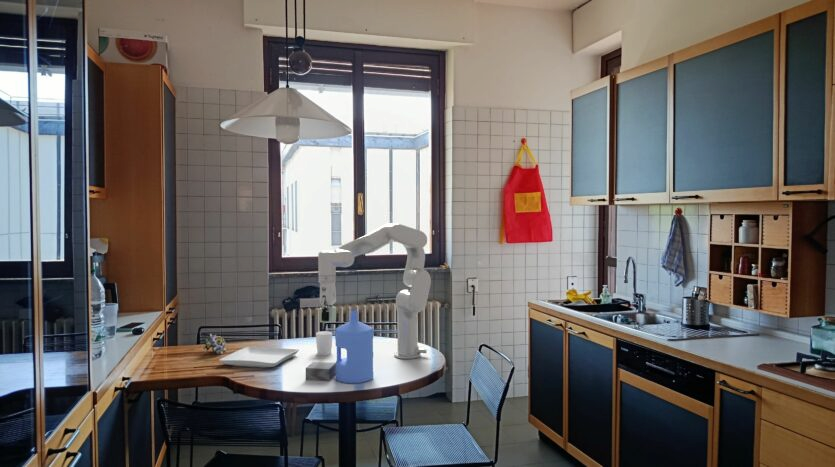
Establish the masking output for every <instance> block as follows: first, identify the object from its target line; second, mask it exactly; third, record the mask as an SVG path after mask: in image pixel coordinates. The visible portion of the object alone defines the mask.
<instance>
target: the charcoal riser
mask: <svg viewBox="0 0 835 467" xmlns="http://www.w3.org/2000/svg"><path fill="white" fill-rule="evenodd" d="M335 373H336V362H332V361H331V362H327V361H326V362H325V361H322V362H321V361H312V362H311V363H310V364H309V365H308V366H306V367H305V381H314V382H315V381H317V382H330V381H331V380H332V379H334V378H335Z"/></svg>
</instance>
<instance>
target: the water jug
mask: <svg viewBox="0 0 835 467" xmlns="http://www.w3.org/2000/svg"><path fill="white" fill-rule="evenodd" d="M358 312H359V311H358V310H350V315H349V317H350V320H349V321H348V322H345V323H344V324H342V325H340V326H337V327H336V328H335V333H334V334H335V335H334V336H335V337H334V339H335V347H336V361H335V363H336V373H335V376H334V378H335V379H336V381H338V382H339V383H344V384H363V383H367V382H369V381H372V379H373V378H374V331H373V330H374V329H373V327H372V326H370V325H368V324H366V323H364V322H361V321H359V314H358ZM342 349H345V350H346V357H342Z"/></svg>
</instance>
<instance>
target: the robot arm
mask: <svg viewBox="0 0 835 467" xmlns="http://www.w3.org/2000/svg"><path fill="white" fill-rule="evenodd" d="M392 242H393V243H399V244H401V245H403V247H404V248H405V250H406V254H407V255H406V256H407V259H406V263H405V267H404V271H403V278H402V280H403V281H402V282H403V284H404V285H405V286H407V287H408V288H410V289H402V290H400V291H399V292H398V293H397V294H396V297H395V308H396V314H397V323H396V324H397V325H396V326H397V351H395V352H394V356H393V357H395V358H396V359H402V360H404V359H405V360H411V359H418V358H420V357H421V356H422V355H421V354H427V352H428V351H427V348H422V347H421V348H420V345H418V313H420V312H422V311H423V310H424V309H425V307H426V305H427V302H428V298H429V294H430V293H429V292H430V289H431V285H432V278H431V275H430V273H429V272H428V271H427V270H426V269H424V268H425V262H426V252H425V249H424V247H426V246H427V244H428V237H427V235H426V233H425V232H423V231H422V230H419V229H416V228H413V227H410V226H408V225H404V224H401V223H393V222H392V223H391V222H389V223H386V224H384V225H382V226H380V227H379V228H377V229H375V230H373V231H371V232H369V233H368V234H365V235H363V236H361V237H359V238H356V239H354V240H352V241H349V242H347V243H344V244H343V245H341V246H339V247H337V248H335V249H334V250H321V251H319V252H318V257H317V258H318V260H317V262H318V263H317V264H318V283H319V304H320V308H321V309H322V310H321V312H322V321H329V312H328V308H329V307H334V304H335V303H337V290H336V282H337V281H336V280H337V277H336V276H337V275H336V273H337V270H336V269H337V268H338V267H339V268H340V267H341V268H349V267H351V266H352V265H353V264H354V262H355V258H356V257H358V256H361V255H365V254H366V255H368V254H372V253H375V252H376V251H378V250H380V249H381V248H383V247H385V246H387V245H388V244H390V243H392ZM325 306H327V309H326V307H325Z"/></svg>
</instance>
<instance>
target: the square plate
mask: <svg viewBox="0 0 835 467" xmlns="http://www.w3.org/2000/svg"><path fill="white" fill-rule="evenodd" d="M298 352H300V350H299V348H298V349H297V348H295V349H294V348H284V347H283V348H282V347H274V346H273V347H270V346H246V347H244V348H241V349H239V350H236V351H234V352H232V353H230V354H228V355H226V356H224V357H222V358H220V359H219V361H220V362H221V363H222V364H225V365H228V366H233V367H234V366H235V367H246V366H247V367H248V368H251V367H252V368H265V369H266V368H273V367H276V366H278V365H279V364H281V363H282V362H284V361H286V360H288V359H290V358H292V357H294V356H295V355H296V354H297V353H298Z"/></svg>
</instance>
